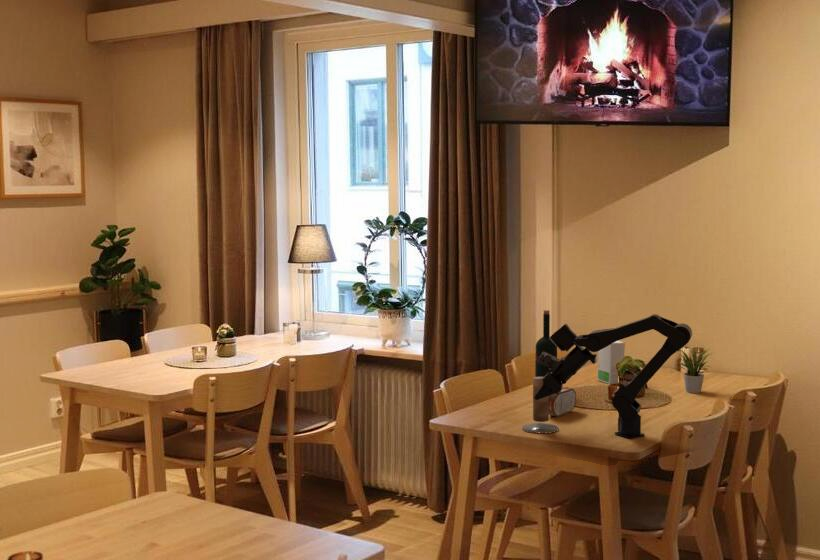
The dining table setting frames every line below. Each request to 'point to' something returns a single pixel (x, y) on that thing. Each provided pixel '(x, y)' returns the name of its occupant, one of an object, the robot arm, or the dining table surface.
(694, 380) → the house plant
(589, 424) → the dining table surface
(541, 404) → the pepper mill
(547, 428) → the coaster
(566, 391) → the tin
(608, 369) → the skincare box
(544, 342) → the wine bottle
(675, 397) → the dining table surface
